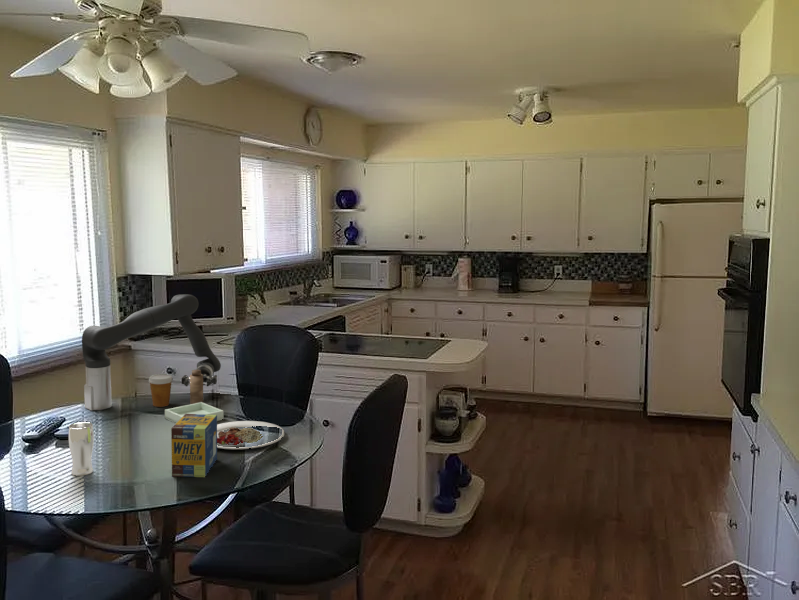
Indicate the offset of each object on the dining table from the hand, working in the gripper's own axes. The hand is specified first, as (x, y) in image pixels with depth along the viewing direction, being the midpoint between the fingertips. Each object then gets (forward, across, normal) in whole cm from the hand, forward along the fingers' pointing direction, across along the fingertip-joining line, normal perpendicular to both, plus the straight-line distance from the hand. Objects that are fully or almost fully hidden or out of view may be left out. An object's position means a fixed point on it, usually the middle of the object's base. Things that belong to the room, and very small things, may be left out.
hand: (196, 384), depth 283 cm
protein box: (+70, +11, +9) cm, 72 cm away
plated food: (+42, +23, +10) cm, 49 cm away
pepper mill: (+1, 0, +9) cm, 9 cm away
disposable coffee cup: (-1, -15, +9) cm, 17 cm away
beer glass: (+72, -23, +9) cm, 76 cm away
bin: (+19, +2, +9) cm, 21 cm away
